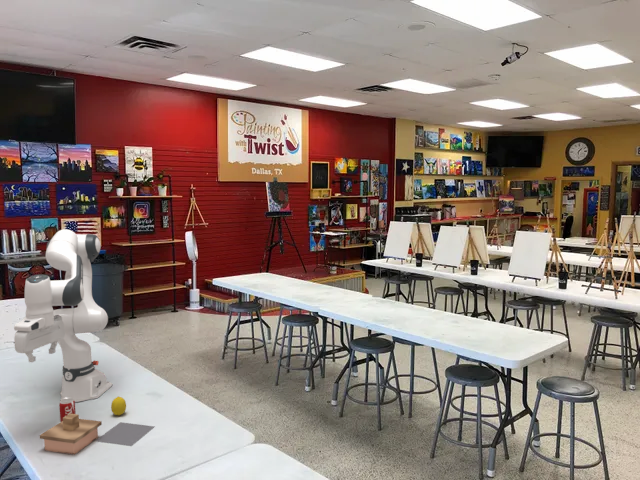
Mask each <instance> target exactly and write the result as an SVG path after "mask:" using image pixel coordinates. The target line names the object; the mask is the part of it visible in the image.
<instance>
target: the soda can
mask: <svg viewBox="0 0 640 480" xmlns="http://www.w3.org/2000/svg"><path fill="white" fill-rule="evenodd" d="M58 408H59V420H60V421H59V423H60V422H62V421H63V417H65V416H67V415H68V414H76V402H75V401H74V398H72V397H68V398H63V399H61V398H60V401H59V406H58Z"/></svg>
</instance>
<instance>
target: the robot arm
mask: <svg viewBox="0 0 640 480" xmlns="http://www.w3.org/2000/svg"><path fill="white" fill-rule="evenodd" d="M101 245H102V244H101V240H100V239H99V236H97V235H96V234H93V233H92V234H91V233H87V234H76V232H74V231H73V230H70V229H66V228H65V229H64V228H63V229H60V230H58V231H57V232H56V233H55V234H54V235H53V236H52V237H51V239H49V240H48V242H47V243H46V251H45V260H46V262H47V263H48V264H49V266H51V267H52V268H54V269H55V270H58V271H64V272H65V275H64V279H60V280H59V279H58V280H57V279H56V280H55V279H54V280H51V279H50V278H51V277H50V276H49V275H47V274H34V275H31V276H29V277H27V278H26V279H25V282H24V283H25V285H24V303H25V306H26V309H25V316H24V317H23V318H22V319H20V320H19V321H18V322H17V323H15V324H14V326H13V329H14V331H16V332H15V334H14V337H13V339H14V343H13V344H14V351H15V352H16V353H18V354H25V356H27V358H28V359H27V360H28V363H34V362H36V360H37V358H36V357H37V356H35V355H33V354H34V350H36V349H40V348H41V347H45V346H47V345H49V344H50V347H49V348H48V354H49V355H50V354H51V355H53V354H55V353H56V348H57V345H58V344H59V347H60V349H61V353H62V354H61V355H62V362H63V363H62V364H63V365H62V368H61V369H62V375H63V376H62V379H61V381H62V382H61V391H60V393H59V395H60V396H61V397H60V400H61V399H63V398H68V397H72V398H74V401H75V403H77V402H84V401H89V400H93V399H94V400H95V399H98V398H100V397H101V396H102V395H103V394H104V393H105V392H106V391H108V390H109V389H110V388H111V387H112V386H113V383H112V382H111V381H107V375H106V374H105V373H104V372H102V371H100V370H98V369H96V368H95V366H99V360H93V361H92V346H91V345H90V343H89V342H87V341H85V340H82V339H80V338H78V337H77V335H76V334H89V333H90V334H91V333H95V332H99V331H103V330H104V329H105V328H106V326H107V324H108V323H109V316H108V313H107V312H106V310H105V309H104V308H103V307H101V306H100V305H98V304H97V303H96V302H95V300H94V298H93V290H92V287H93V268H92V264H91V263H92V262H94V261H95V259H96V258H98V256H99V254H100V253H101V247H102V246H101ZM58 306H61V307H62V306H67V307H69V306H71V308H58V309H54V308H53V307H58ZM76 306H77V307H76Z"/></svg>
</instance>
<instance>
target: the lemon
mask: <svg viewBox="0 0 640 480" xmlns="http://www.w3.org/2000/svg"><path fill="white" fill-rule="evenodd" d="M110 406H111V407H110V408H111V412H112V414H113V415H115V416H121V415H123V414H124V413H125V412H126V409H127V403H126V400H125V398H123V397H121V396H117V397H115V398H113V400H112V402H111V405H110Z"/></svg>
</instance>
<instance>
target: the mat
mask: <svg viewBox="0 0 640 480" xmlns="http://www.w3.org/2000/svg"><path fill="white" fill-rule="evenodd" d="M154 428H156V426H152V425H146V424H145V425H144V424H138V423H129V422H119V423H117V424H115V426H113V427H112V428H110V429H109V430H108V431H106V432H105V433H103V434H102V435H101V436H98V438H97V439H95V440H94V442H97V443H99V442H100V443H104V444H112V445H113V444H114V445H120V446H128V447H132V446H134V445H135V444H136V443H138V442H139V441H140V440H141V439H142V438H143V437H145V436H146V435H147V434H148V433H149V432H151V430H153V429H154Z"/></svg>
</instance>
